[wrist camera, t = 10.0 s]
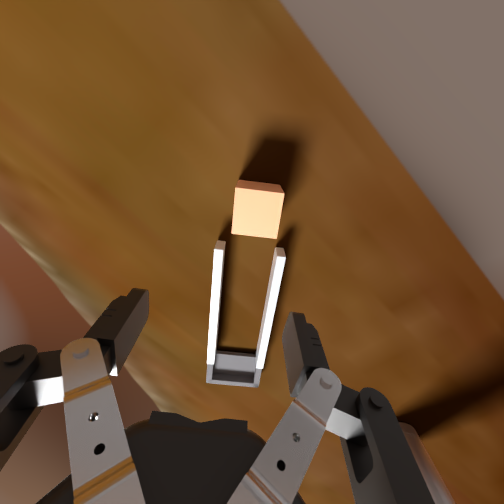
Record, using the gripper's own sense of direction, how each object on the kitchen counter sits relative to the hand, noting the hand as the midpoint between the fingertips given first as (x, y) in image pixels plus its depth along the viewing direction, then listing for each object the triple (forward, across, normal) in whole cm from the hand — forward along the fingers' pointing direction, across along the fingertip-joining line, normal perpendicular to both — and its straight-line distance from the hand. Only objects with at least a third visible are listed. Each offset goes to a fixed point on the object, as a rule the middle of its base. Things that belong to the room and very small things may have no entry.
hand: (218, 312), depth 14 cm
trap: (+15, -4, +23) cm, 28 cm away
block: (+16, -2, -2) cm, 16 cm away
